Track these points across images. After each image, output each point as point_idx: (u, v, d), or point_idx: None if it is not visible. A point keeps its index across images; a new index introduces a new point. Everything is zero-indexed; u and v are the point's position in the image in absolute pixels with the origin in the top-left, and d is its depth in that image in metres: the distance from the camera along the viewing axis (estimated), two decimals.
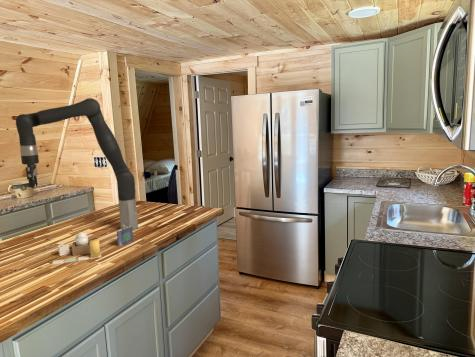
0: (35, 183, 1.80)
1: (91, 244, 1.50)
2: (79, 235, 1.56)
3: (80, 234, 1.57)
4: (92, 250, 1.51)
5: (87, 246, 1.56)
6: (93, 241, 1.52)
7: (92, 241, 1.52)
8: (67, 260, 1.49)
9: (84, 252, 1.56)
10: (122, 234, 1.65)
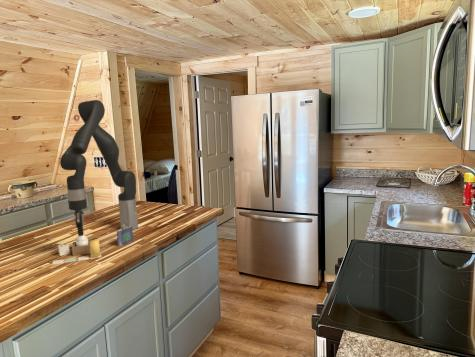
0: None
1: (91, 244, 1.50)
2: (79, 238, 1.57)
3: (80, 237, 1.57)
4: (92, 250, 1.51)
5: (87, 246, 1.56)
6: (93, 241, 1.51)
7: (92, 241, 1.51)
8: (67, 260, 1.49)
9: (84, 252, 1.56)
10: (122, 234, 1.65)
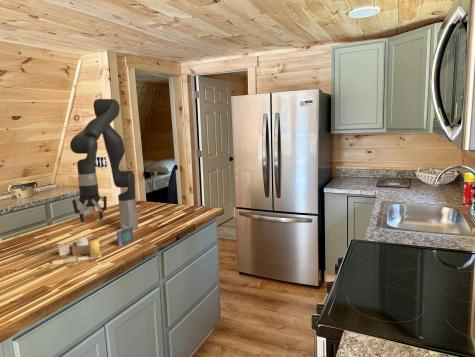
0: None
1: (91, 244, 1.50)
2: (80, 240, 1.57)
3: (81, 239, 1.57)
4: (92, 250, 1.51)
5: (87, 246, 1.56)
6: (93, 241, 1.51)
7: (92, 241, 1.52)
8: (67, 260, 1.49)
9: (84, 252, 1.56)
10: (122, 234, 1.65)
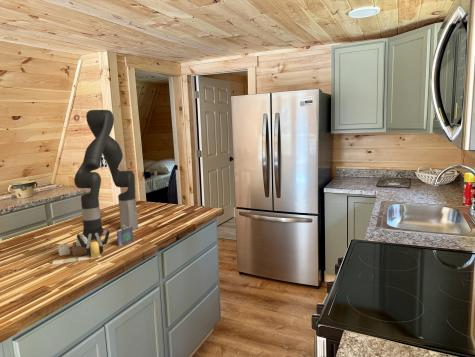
0: (100, 252, 1.53)
1: (91, 244, 1.50)
2: None
3: None
4: (92, 250, 1.51)
5: None
6: (93, 241, 1.52)
7: (92, 241, 1.52)
8: (67, 260, 1.49)
9: (84, 252, 1.56)
10: (122, 234, 1.65)
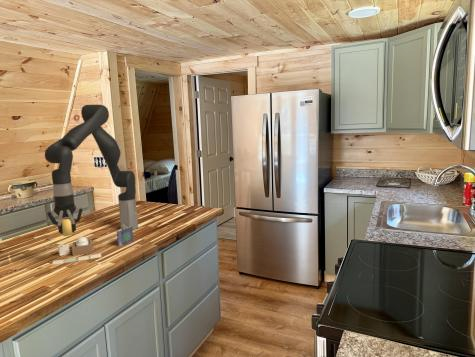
0: None
1: (62, 222, 1.45)
2: (80, 240, 1.57)
3: (81, 239, 1.57)
4: (63, 228, 1.45)
5: (87, 246, 1.56)
6: (65, 219, 1.46)
7: (64, 219, 1.46)
8: (67, 260, 1.49)
9: (84, 252, 1.56)
10: (122, 234, 1.65)
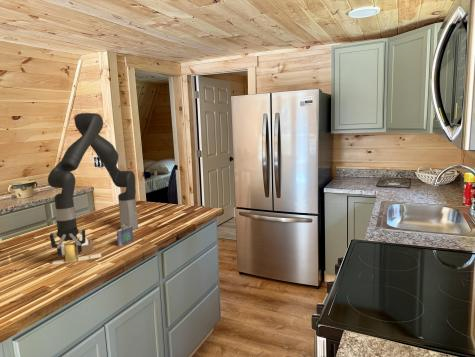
0: (78, 252, 1.50)
1: (65, 248, 1.47)
2: (80, 240, 1.57)
3: (81, 239, 1.57)
4: (66, 254, 1.47)
5: (87, 246, 1.56)
6: (68, 245, 1.48)
7: (67, 245, 1.48)
8: None
9: (84, 252, 1.56)
10: (122, 234, 1.65)
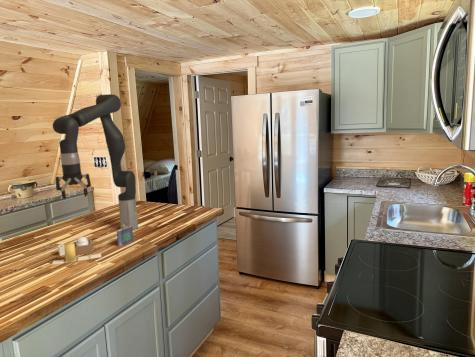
0: None
1: (66, 247, 1.47)
2: (80, 240, 1.57)
3: (81, 239, 1.57)
4: (66, 254, 1.47)
5: (87, 246, 1.56)
6: (68, 244, 1.48)
7: (67, 244, 1.48)
8: None
9: (84, 252, 1.56)
10: (122, 234, 1.65)
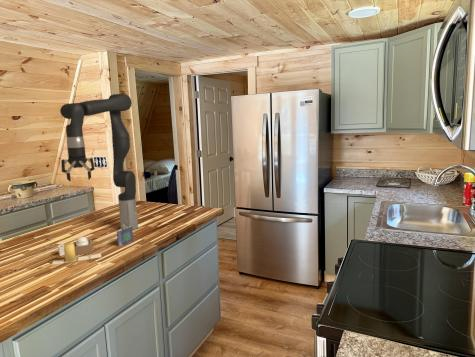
0: (88, 178, 1.67)
1: (65, 248, 1.47)
2: (80, 240, 1.57)
3: (81, 239, 1.57)
4: (66, 254, 1.47)
5: (87, 246, 1.56)
6: (67, 245, 1.48)
7: (66, 245, 1.48)
8: None
9: (84, 252, 1.56)
10: (122, 234, 1.65)
